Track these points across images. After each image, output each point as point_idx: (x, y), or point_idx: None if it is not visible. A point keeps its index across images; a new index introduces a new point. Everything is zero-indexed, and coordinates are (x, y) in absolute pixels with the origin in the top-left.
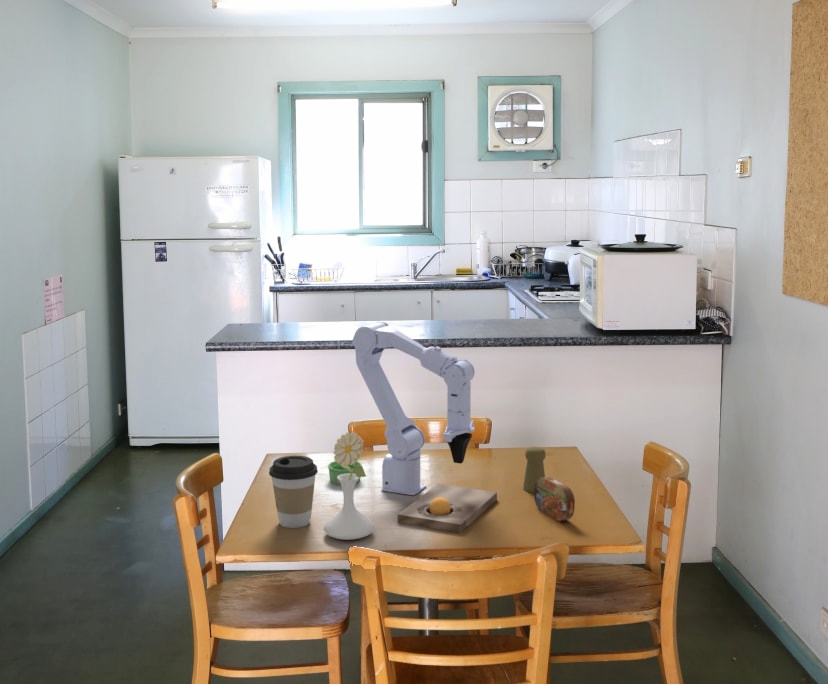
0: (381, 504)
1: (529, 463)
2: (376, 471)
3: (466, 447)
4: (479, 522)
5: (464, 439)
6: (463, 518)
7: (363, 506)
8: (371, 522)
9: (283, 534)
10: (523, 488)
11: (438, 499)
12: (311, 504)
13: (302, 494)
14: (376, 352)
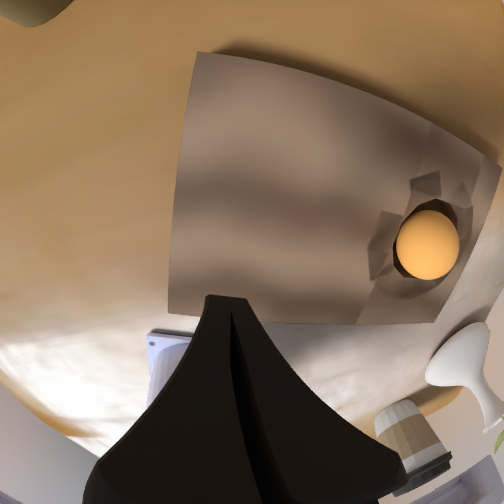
0: (316, 373)
1: None
2: (113, 415)
3: (192, 377)
4: (435, 109)
5: (407, 481)
6: (478, 162)
7: (330, 389)
8: (470, 337)
9: (426, 398)
10: (54, 14)
11: (453, 263)
12: (413, 422)
13: (435, 434)
14: None
